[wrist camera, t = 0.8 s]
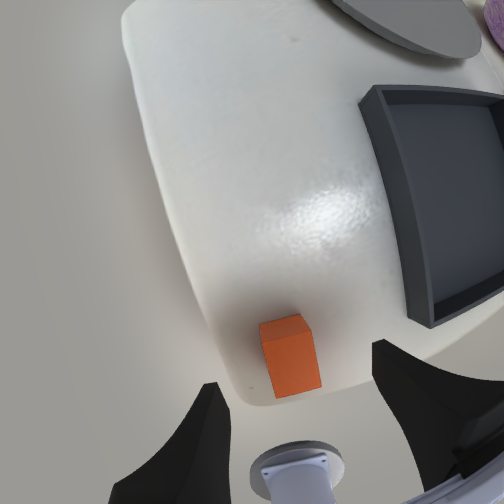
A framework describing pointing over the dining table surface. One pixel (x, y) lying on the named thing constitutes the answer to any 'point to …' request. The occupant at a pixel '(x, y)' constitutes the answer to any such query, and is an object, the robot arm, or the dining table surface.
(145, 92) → the dining table surface
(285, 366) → the orange block
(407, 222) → the bin
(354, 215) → the dining table surface
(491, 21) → the bowl of food
